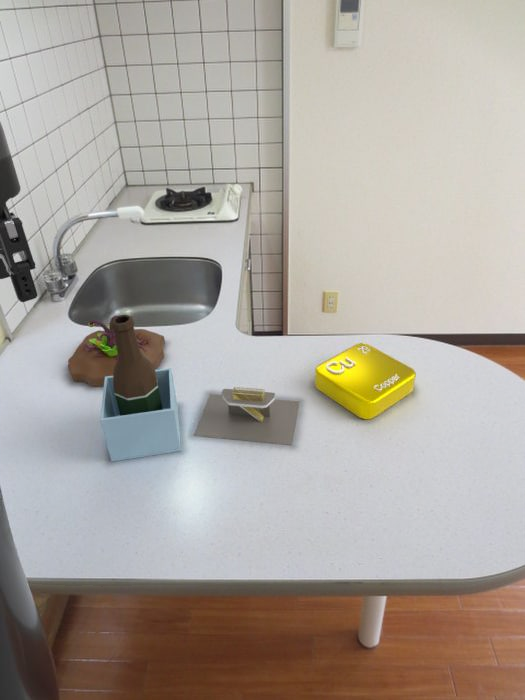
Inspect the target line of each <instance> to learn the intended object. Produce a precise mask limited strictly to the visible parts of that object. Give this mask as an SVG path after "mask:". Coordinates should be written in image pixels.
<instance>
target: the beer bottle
mask: <svg viewBox="0 0 525 700" xmlns="http://www.w3.org/2000/svg"><path fill="white" fill-rule="evenodd" d="M116 316H117V317H115V318H113V317H112V318H113V319H112V318H111V319H112V329H113V330H114V333H115V340H116V346H117V352H118V361H117V363H116V365H115V367H114V372H113V386H114V393H115V397H116V401H117V405H118V409H119V413H120V416H123V415H130V414H137V413H144V412H151V411H158V410H163V408H162V402H161V397H160V392H159V386H158V381H157V376H156V372H155V369H154V366H153V365H152V364H151V362H150V361H149V360H148V359H146V358H145V357H144V356H143V355H142V353H141V351H140V348H139V345H138V341H137V337H136V334H135V330H134V329H135V327H134V326H135V320H134V318H133V316H132V315H129V314H120V315H116Z"/></svg>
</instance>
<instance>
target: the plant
mask: <svg viewBox="0 0 525 700" xmlns="http://www.w3.org/2000/svg"><path fill="white" fill-rule="evenodd" d="M117 316H118V315H113V316H112V317H111V319H110V320H109V325H106V324H105V323H103V322H102V321H99V320H96V319H92V320H89V321H88V323H87V325H88V327H89V328H93V327H94V326H95V324H97V325H99V326H100V327H101V328H102V330H100V329H98V330H96V331H93V332H91V333H90V334H88V335H86V336H85V337H84V339H83V340H82V341H81V343H79V345H77V348H76V349H75V351H74V352H73V354H72V356H70V357H69V358H68V361H67V363H68V364H67V369H68V371H69V375H70V376H71V380H72V382H73V383H78V382H83V383H86V384H87V385H88V386H90V387H104V381H105V377H106V376H113V372H114V367H115V365H116V363H117V361H118V352H117V346H116V340H115V333H114V330H113V329H112V319H113V318H115V317H117ZM134 330H135V334H136V337H137V341H138V345H139V348H140V351H141V353H142V355H143V356H144V357H145V358H146V359H148V360H149V361H150V362H151V364H152V365H153V366H154V369H155V370H157V369H158V368H159V365H160V364H161V363H162V361H163V360H164V359H165V351H164V347H165V345H166V339H165V336H164V335H162V334H160V333H157V332H155V331H154V332H153V331H150V330H147V329H143V328H134Z"/></svg>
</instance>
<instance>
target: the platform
mask: <svg viewBox="0 0 525 700" xmlns="http://www.w3.org/2000/svg"><path fill="white" fill-rule="evenodd" d="M299 407H300V401H297V400H287V399H277V398H276V393H275V392H272V391H271V392H270V391H266V390H265V389H264V388H253V387H247V389H244V386H243V387H241V386H233V388H223V389H222V390H221V393H220V394H216V393H214V394H213V393H209V396H208V398H207V401H206V403H205V406H204V409H203V410H202V413H201V415H200V418H199V421H198V424H197V426H196V429H195V431H194V434H193V436H194V437H195V436H197V437H206V438H214V439H226V440H234V441H235V440H237V441H244V442H245V441H246V442H256V443H267V444H275V445H276V444H277V445H286V446H292V445H293V441H294V435H295V429H296V424H297V418H298V414H299V413H298V412H299Z"/></svg>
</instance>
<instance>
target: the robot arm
mask: <svg viewBox="0 0 525 700" xmlns="http://www.w3.org/2000/svg"><path fill="white" fill-rule="evenodd" d="M20 192H21V184H20V181H19V178H18V174H17V171H16V167H15V164H14V160H13V157H12V154H11V151H10V147H9V144H8V140H7V137H6V133H5V130H4V127H3V125H2V122H1V121H0V280H4V279H7V278H10V280H11V284H12V287H13V290H14V292H15V296H16V298H17V299H18V301H19V302H21V303H26V302H29V301H31V300H35V299H37V298H38V292H37V288H36V284H35V282H34V279H33V275H32V272H31V271H32V270H36V262H35V261H34V258H33V255H32V252H31V248H30V245H29V242H28V239H27V235H26V233H25V229H24V226H23V221H22V220H21V219H20V217H17V216H16V214H15V213H14V212H13V211H11V212H10V210H9V207H8V206H7V202H8V201H9V200H10V199H14V198H16V196H18V195H19V194H20ZM15 254H18V256H19V257H20V259H21V260H19V261H15V259H14V255H15ZM1 487H2V486H1V485H0V700H61V699H60V687H59V681H58V680H59V679H58V674H57V668H56V663H55V659H54V656H53V651H52V648H51V643H50V642H49V638H48V636H47V633H46V630H45V626H44V624H43V620H42V618H41V615H40V612H39V610H38V608H37V603H36V601H35V599H34V597H33V592H32V590H31V588H30V585H29V582H28V579H27V577H26V573H25V571H24V569H23V565H22V563H21V560H20V557H19V554H18V549H17V547H16V544H15V540H14V536H13V533H12V528H11V524H10V520H9V517H8V512H7V510H6V509H7V508H6V504H5V501H4V497H3V496H4V495H3V492H2V488H1Z"/></svg>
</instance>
